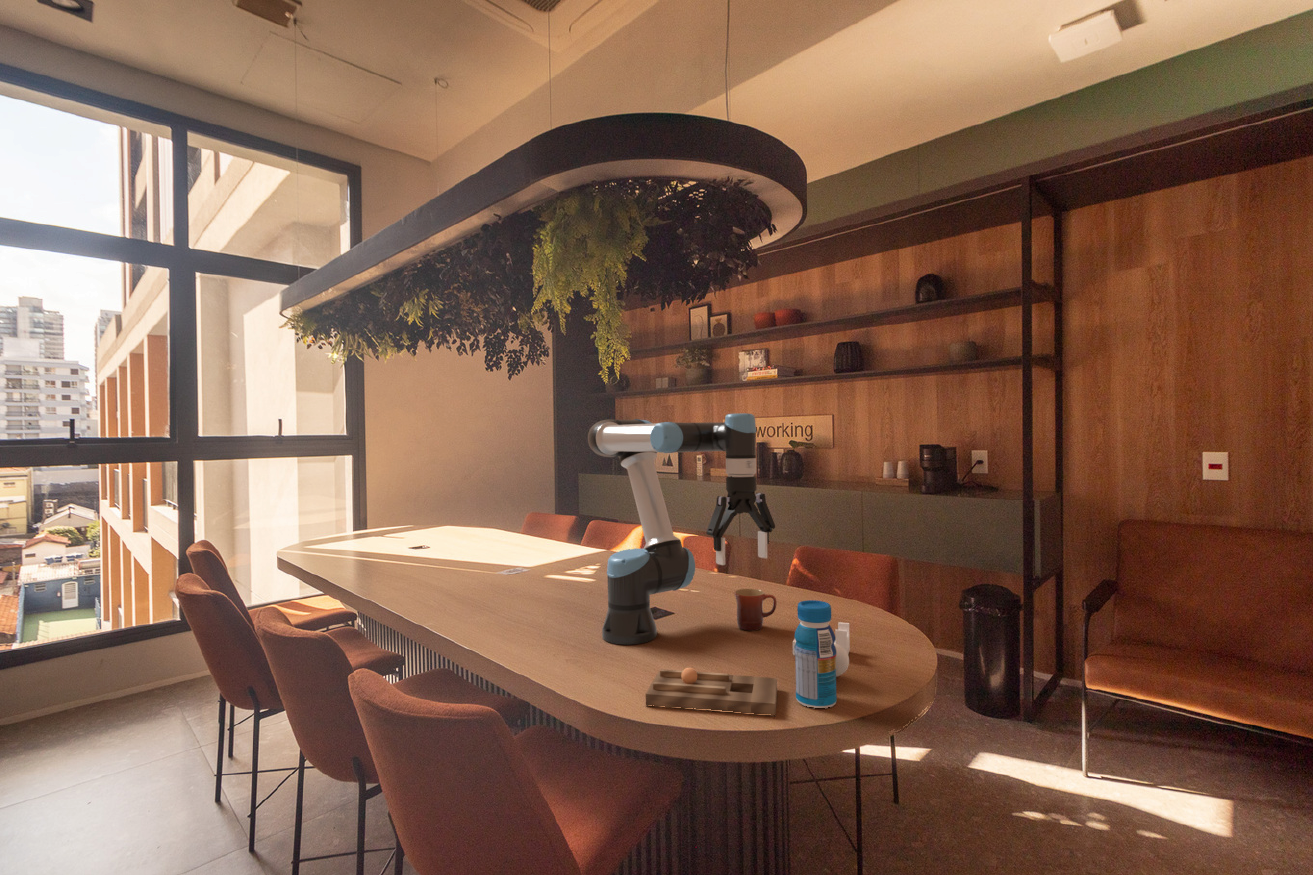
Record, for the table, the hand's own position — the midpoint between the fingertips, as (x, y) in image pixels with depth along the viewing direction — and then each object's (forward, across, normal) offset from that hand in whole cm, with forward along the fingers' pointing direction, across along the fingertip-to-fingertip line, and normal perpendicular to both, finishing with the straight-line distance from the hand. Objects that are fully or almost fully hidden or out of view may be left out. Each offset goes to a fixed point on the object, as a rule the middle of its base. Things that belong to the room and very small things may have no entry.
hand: (742, 560), depth 150 cm
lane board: (+24, -21, -15) cm, 35 cm away
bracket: (+24, +18, -9) cm, 31 cm away
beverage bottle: (+24, -4, -28) cm, 37 cm away
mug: (+24, +18, +16) cm, 34 cm away
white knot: (+24, +5, -21) cm, 32 cm away
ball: (+20, -24, -11) cm, 33 cm away
